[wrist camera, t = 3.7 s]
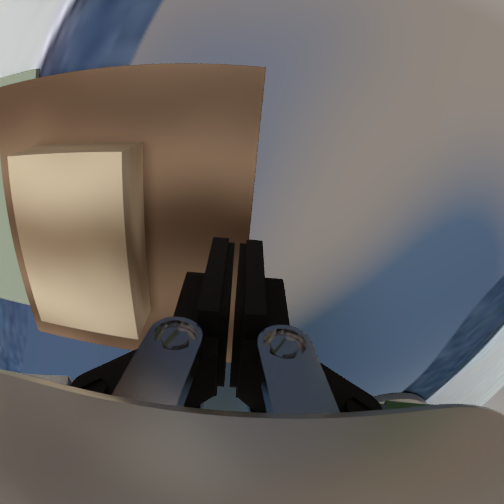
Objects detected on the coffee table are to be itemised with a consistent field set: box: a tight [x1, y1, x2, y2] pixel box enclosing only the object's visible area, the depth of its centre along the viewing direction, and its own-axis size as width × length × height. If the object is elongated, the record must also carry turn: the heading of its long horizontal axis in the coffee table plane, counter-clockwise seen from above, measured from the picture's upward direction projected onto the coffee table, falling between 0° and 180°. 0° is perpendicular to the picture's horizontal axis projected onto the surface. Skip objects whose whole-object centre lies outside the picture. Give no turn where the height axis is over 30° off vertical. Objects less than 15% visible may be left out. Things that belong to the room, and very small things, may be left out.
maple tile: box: [7, 142, 151, 340], centre depth 14 cm, size 9×6×2 cm, turn 175°
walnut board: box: [0, 63, 266, 363], centre depth 17 cm, size 16×14×4 cm
